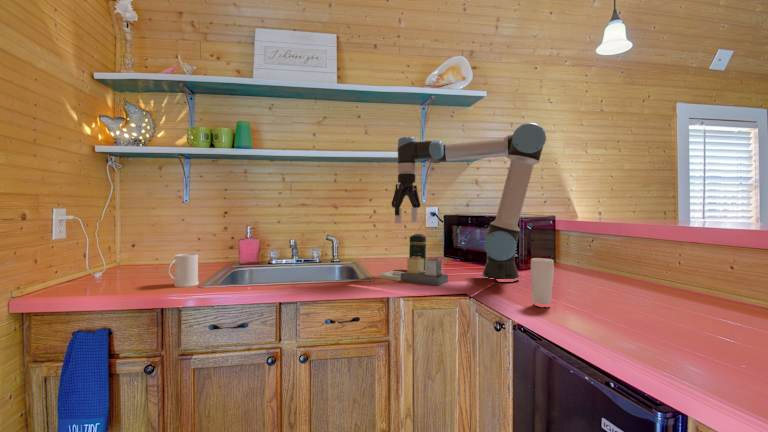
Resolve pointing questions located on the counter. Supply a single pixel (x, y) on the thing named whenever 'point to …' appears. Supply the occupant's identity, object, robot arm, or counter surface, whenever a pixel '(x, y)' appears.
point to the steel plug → (433, 267)
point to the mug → (185, 270)
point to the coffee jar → (418, 246)
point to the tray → (387, 276)
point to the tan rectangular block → (415, 265)
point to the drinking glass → (542, 279)
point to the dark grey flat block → (424, 279)
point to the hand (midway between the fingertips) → (406, 222)
